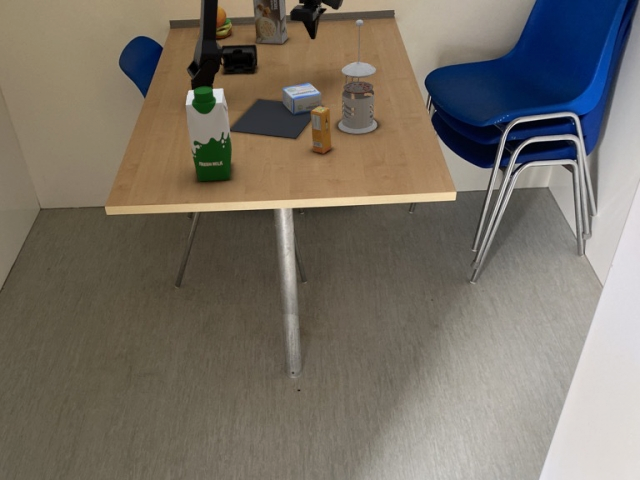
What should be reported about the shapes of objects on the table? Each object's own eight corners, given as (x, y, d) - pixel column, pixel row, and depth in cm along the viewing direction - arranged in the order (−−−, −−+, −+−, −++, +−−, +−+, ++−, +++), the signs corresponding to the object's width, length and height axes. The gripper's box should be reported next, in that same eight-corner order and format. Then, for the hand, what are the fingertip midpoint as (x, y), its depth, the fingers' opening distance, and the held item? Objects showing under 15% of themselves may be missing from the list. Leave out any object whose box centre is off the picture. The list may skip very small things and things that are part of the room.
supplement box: (320, 145, 163) (319, 105, 156) (331, 149, 161) (331, 108, 154) (311, 150, 161) (310, 110, 154) (323, 154, 159) (322, 113, 152)
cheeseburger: (240, 31, 229) (233, 2, 221) (223, 48, 224) (215, 20, 216) (216, 27, 233) (208, -2, 225) (198, 44, 228) (190, 15, 220)
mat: (295, 138, 166) (295, 137, 166) (229, 130, 171) (228, 130, 171) (321, 106, 180) (321, 105, 180) (258, 99, 185) (258, 99, 185)
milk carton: (194, 183, 152) (180, 96, 138) (197, 164, 158) (184, 79, 145) (233, 181, 151) (223, 93, 138) (234, 162, 158) (225, 76, 145)
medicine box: (309, 82, 181) (321, 93, 175) (309, 98, 184) (322, 109, 178) (281, 87, 179) (293, 98, 173) (282, 104, 182) (294, 115, 176)
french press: (345, 136, 166) (346, 29, 149) (330, 117, 174) (329, 14, 158) (383, 129, 167) (387, 23, 151) (366, 111, 176) (369, 8, 159)
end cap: (258, 64, 205) (256, 41, 201) (256, 73, 200) (254, 49, 195) (225, 65, 206) (223, 42, 201) (222, 74, 201) (219, 50, 196)
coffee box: (288, 37, 222) (285, -16, 211) (282, 44, 217) (279, -10, 207) (261, 36, 224) (258, -17, 214) (255, 43, 220) (251, -11, 209)
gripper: (330, -13, 165) (331, 53, 175) (352, -33, 178) (351, 29, 188) (287, -15, 168) (290, 50, 179) (312, -34, 181) (313, 27, 192)
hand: (313, 39), depth 184 cm, fingers closed
